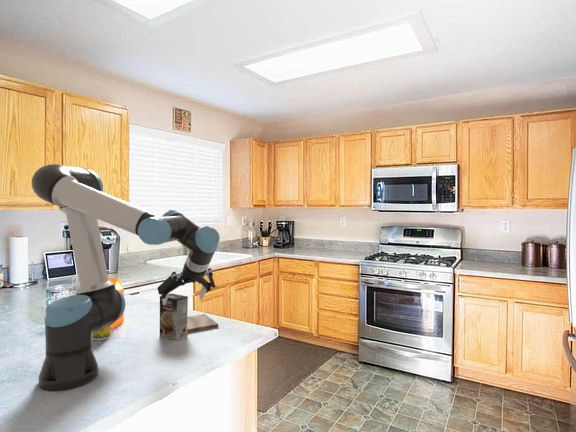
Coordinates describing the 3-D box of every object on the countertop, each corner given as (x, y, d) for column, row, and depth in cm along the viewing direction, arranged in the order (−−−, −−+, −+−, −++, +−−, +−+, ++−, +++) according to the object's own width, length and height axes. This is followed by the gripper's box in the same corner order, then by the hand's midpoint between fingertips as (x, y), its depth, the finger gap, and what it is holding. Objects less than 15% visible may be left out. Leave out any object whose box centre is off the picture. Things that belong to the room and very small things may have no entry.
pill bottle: (90, 341, 137) (90, 312, 136) (94, 335, 142) (94, 307, 142) (108, 340, 138) (108, 311, 138) (111, 334, 144) (111, 306, 144)
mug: (70, 288, 219) (70, 271, 219) (92, 286, 227) (92, 269, 227) (73, 291, 213) (73, 273, 212) (96, 288, 221) (96, 271, 220)
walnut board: (180, 334, 145) (180, 330, 145) (169, 323, 159) (169, 319, 159) (218, 327, 154) (218, 323, 154) (204, 317, 167) (204, 314, 167)
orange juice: (112, 327, 153) (112, 279, 152) (93, 325, 154) (93, 278, 154) (124, 321, 160) (124, 276, 160) (106, 320, 162) (106, 275, 161)
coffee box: (158, 337, 142) (158, 296, 141) (171, 332, 148) (171, 292, 147) (176, 341, 138) (176, 299, 137) (188, 336, 143) (188, 295, 143)
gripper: (160, 277, 111) (148, 313, 124) (234, 270, 125) (217, 303, 138) (155, 257, 116) (145, 294, 129) (228, 252, 130) (212, 286, 142)
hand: (182, 299), depth 133 cm, fingers open, 13 cm apart
